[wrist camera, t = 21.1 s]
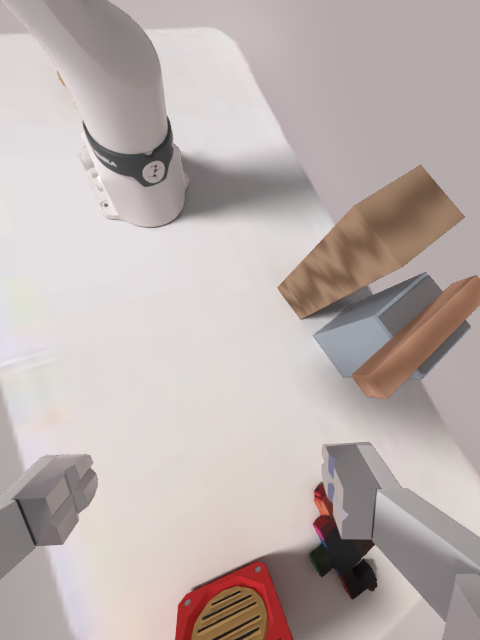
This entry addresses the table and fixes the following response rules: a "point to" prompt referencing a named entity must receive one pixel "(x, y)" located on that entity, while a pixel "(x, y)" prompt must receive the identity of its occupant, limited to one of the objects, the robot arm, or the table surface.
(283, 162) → the table surface
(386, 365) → the bar
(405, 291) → the dock
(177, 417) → the table surface
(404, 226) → the post
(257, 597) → the radio
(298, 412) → the table surface
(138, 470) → the table surface
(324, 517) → the toy
